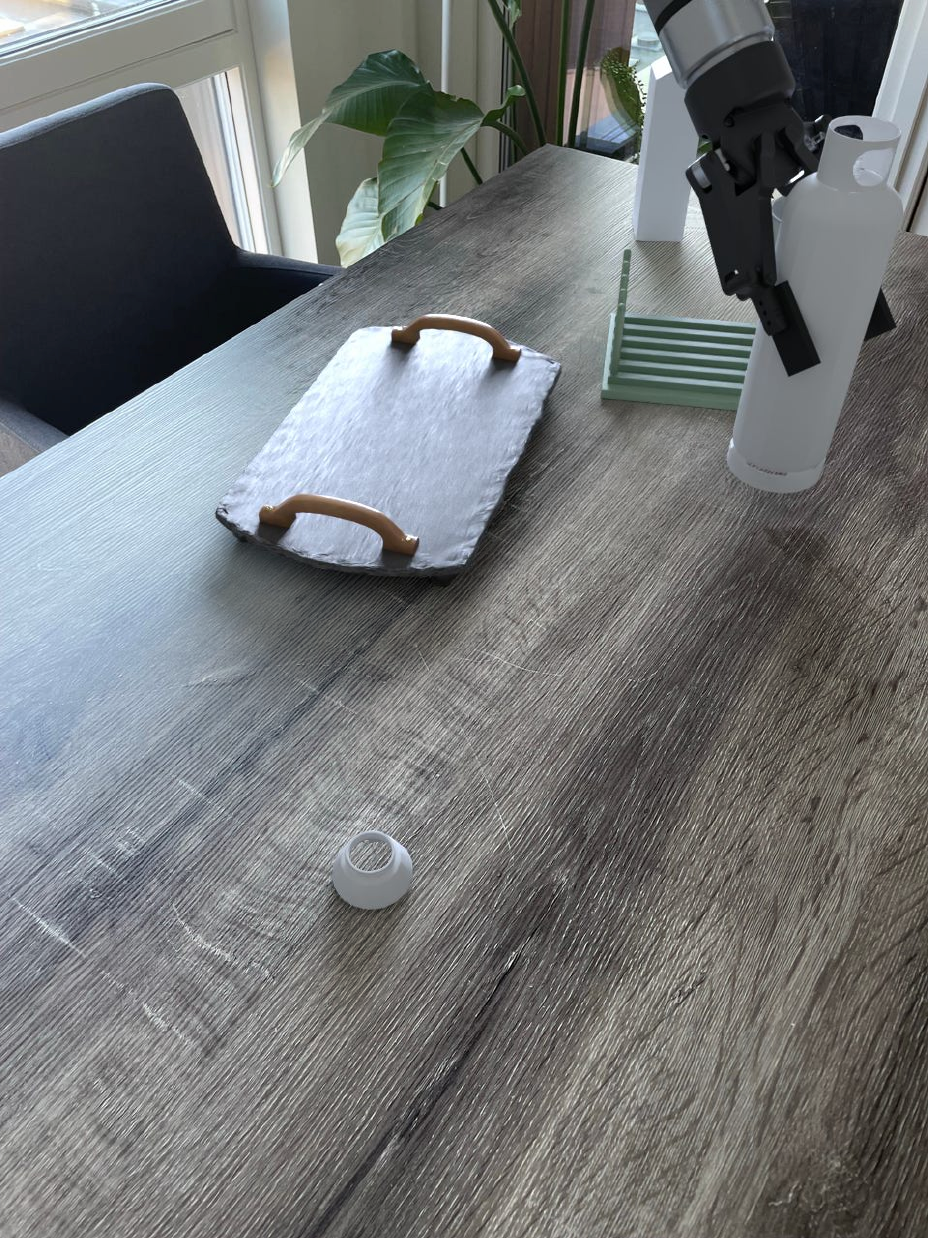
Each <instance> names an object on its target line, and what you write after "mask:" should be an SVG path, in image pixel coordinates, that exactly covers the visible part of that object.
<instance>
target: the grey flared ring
mask: <svg viewBox="0 0 928 1238" xmlns="http://www.w3.org/2000/svg"><path fill="white" fill-rule="evenodd" d="M364 840H369V842H370V843H374V842H381V841H384V843H383V844H385V843H387V844H388V845H389V846H390V848H391V850H392V855H391V858H390V860H389V861H388V863H387V864H386V865H385V866H383V867H382V868H380V869H377V870H373V871H365V870H361V869H359V868H357V867H355V866H354V865H353V864H352V862H351V861H350V858H349V856H350V852H351V850H352V848H353V847H354V846H355V845H356V844H357V843H358V842H363V843H365V842H364ZM336 855H337V856H336V857H335V860H334V862H333V864H332V870H331V871H332V873H331V874H332V876H331V881H332V884H333V883H334V884H333V886H334V889H335V888H336V889H335V890H337V891H336V893H337V892H338V893H337V895H338V894H339V895H340V896H341V897H342V898H343V899H344V900H343V899H342V898H341V897H340V896H339V895H338V896H339V897H340V898H341V899H342V900H343V901H345V902H346V901H347V902H348V903H349V904H350V905H349V904H348V903H347V902H346V903H347V904H348V905H349V906H351V905H353V906H352V907H355V908H358V907H359V908H358V909H361V908H362V909H361V910H364V909H368V911H369V910H382V909H384V908H386V907H388V906H391V905H393V904H395V903H397V902H398V901H399V900H400V899H401V898H402V897H403V896H404V895H405V894H406V893H407V892H408V891H409V888H410V886H411V883H412V880H413V878H414V876H413V875H414V874H413V871H414V870H413V859H412V857H411V856H410V854H409V852H408V850H407V848H406V847H404V846H403V845H402V844H401V843H399V842H398V841H397V840H395V838H393V837H391V836H390V835H388V834H386V833H385V832H382V831H379V830H364V831H361V832H359V833H357V834H355V835H354V836H352V837H351V838H350V840H349V841H348V842H347V843H346V844H345V845H344V846H343V847H342V848H341V850H339V852H338V853H337V854H336ZM381 908H382V909H381Z"/></svg>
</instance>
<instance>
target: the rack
mask: <svg viewBox="0 0 928 1238" xmlns="http://www.w3.org/2000/svg"><path fill="white" fill-rule="evenodd" d="M632 254H633V253H632V249H631V248H629V247H627V248H625V249H624V251H623V255H622V265H621V271H620V272H621V273H620V280H619V281H620V282H619V287H618V289H619V290H618V296H617V297H618V298H617V304H616V305H617V306H616V311H615V312H611V313H610V317H609V326H608V334H607V340H606V341H607V342H606V349H605V359H604V367H603V375H602V384H601V389H600V398H601V399H607V400H617V401H618V400H619V401H629V402H639V403H649V404H650V403H651V404H652V403H653V404H659V405H660V404H661V405H671V406H682V407H692V408H702V409H703V408H704V409H713V410H724V411H736V412H737V410H738V406H739V402H740V397H741V393H742V389H743V384H744V380H745V376H746V371H747V367H748V363H749V358H750V354H751V350H752V345H753V341H754V336H755V332H756V328H757V323H752V322H740V321H728V320H716V319H705V318H693V317H681V316H670V315H669V316H668V315H659V314H657V315H656V314H647V313H634V312H627V300H628V289H629V283H630V282H629V281H630V271H631V261H632Z"/></svg>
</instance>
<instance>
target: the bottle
mask: <svg viewBox="0 0 928 1238" xmlns="http://www.w3.org/2000/svg"><path fill="white" fill-rule="evenodd" d="M853 125H854V126H856V127H859V129H860V131H861V133H862V139H858V138H852V137H849V136H846V135H843V134H841V133H838V132H837V131H836V132H835V131H834V129H835V130H836V128H837V127H842V126H853ZM902 131H903V130H902V128H901V127H900V126H899V125H897V124H896V123H894V122H892V121H890V120H887V119H882V118H881V117H880V118H879V117H874V116H868V115H845V116H839V117H836V118H834V119H832V121H831V122H830V124H829V127H828V131H827V135H826V139H825V143H824V147H823V151H822V155H821V159H820V163H819V167H818V171H817V172H815V173H813V174H811V175H809V176H807V177H805V178H804V179H802V180H801V181H799V182H797V184H796V185H795V186H794V188H793V189H792V190H791V192H790V193H789V195H788V196H787V197H786V202H785V206H784V210H783V215H782V219H781V223H780V228H779V232H778V236H777V241H776V245H775V257H776V270H777V282H776V284H775V286H776V285H778V284H780V283H782V282H784V281H787V280H788V282H789V285H790V287H791V289H792V292H793V294H794V297H795V299H796V302H797V304H798V307H799V309H800V311H801V314H802V316H803V319H804V321H805V324H806V326H807V329H808V331H809V334H810V336H811V339H812V341H813V344H814V346H815V349H816V351H817V353H818V356H819V358H820V361H821V363H820V364H818V365H816V366H813V367H811V368H809V369H806V370H804V371H802V372H799V373H797V374H795V375H793V376H790V377H788V375H787V372H786V370H785V367H784V365H783V363H782V360H781V358H780V355H779V353H778V350H777V348H776V345H775V343H774V341H773V338H772V336H768V335H767V334H766V332H765V331H764V329H763V326H762V323H761V321H760V318H759V317H758V320H757V323H756V324H757V328H756V332H755V336H754V341H753V345H752V350H751V354H750V358H749V363H748V367H747V371H746V376H745V380H744V384H743V389H742V393H741V397H740V402H739V406H738V410H737V411H736V415H735V420H734V424H733V427H732V437H731V439H730V442H729V445H728V450H727V454H726V460H727V461H726V464H727V466H728V469H729V470H730V472H731V474H732V475H734V476H735V477H736V478H737V479H738V480H739V481H740V482H741V483H742V482H743V483H744V484H746V485H747V486H750V487H751V488H754V489H757V490H760V491H764V492H767V493H776V494H791V493H798V492H799V493H800V492H803V491H805V490H808V489H810V488H811V487H813V486H814V485H816V483H818V482H819V479H820V477H821V476H822V473H823V470H824V466H825V463H826V460H827V457H826V456H827V454H828V452H829V450H830V447H831V444H832V441H833V438H834V435H835V431H836V429H837V425H838V422H839V420H840V419H839V418H840V415H841V412H842V411H843V410H842V409H843V406H844V403H845V400H846V397H847V393H848V390H849V387H850V385H851V382H852V381H851V380H852V378H853V375H854V372H855V368H856V366H857V363H858V359H859V356H860V353H861V350H862V346H863V344H864V342H863V340H864V337H865V334H866V331H867V328H868V324H869V321H870V318H871V315H872V312H873V309H874V306H875V302H876V299H877V296H878V293H879V290H880V287H881V288H882V286H881V283H882V284H883V281H884V277H885V273H886V271H887V268H888V264H889V261H890V258H891V254H892V251H893V249H894V245H895V242H896V239H897V236H898V233H899V230H900V227H901V223H902V221H903V217H904V215H905V213H904V205H903V200H902V197H901V195H900V193H899V192H898V191H897V189H896V188H895V187H894V186H893V185H892V184H891V183H890V182H889V177H890V174H891V171H892V168H893V164H894V160H895V157H896V155H897V151H898V147H899V144H900V142H901V141H900V140H901V137H902V135H903V132H902ZM748 463H749V464H748ZM750 464H751V465H750ZM752 465H753V466H756V467H757V468H760V469H762V470H766V471H770V472H773V473H770V472H766V471H762V470H759V469H757V468H755V467H753V466H752ZM774 473H782V474H774ZM783 474H786V475H783Z"/></svg>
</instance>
